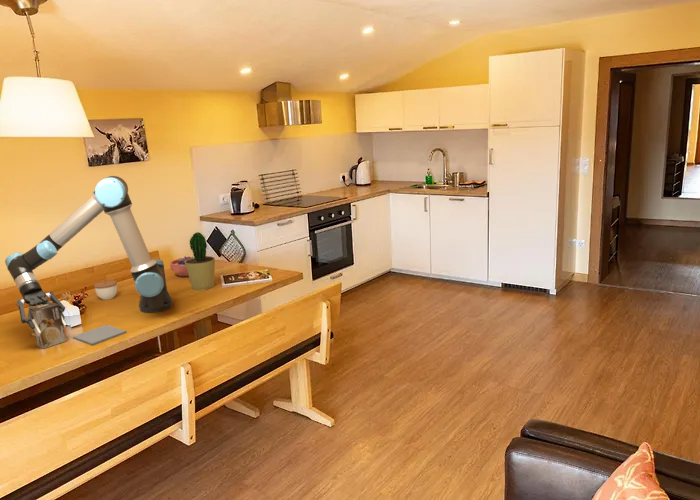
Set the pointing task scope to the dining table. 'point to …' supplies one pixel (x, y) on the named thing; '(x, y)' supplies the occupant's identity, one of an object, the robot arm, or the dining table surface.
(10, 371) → the dining table surface
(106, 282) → the lidded jar
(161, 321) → the dining table surface
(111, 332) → the mat
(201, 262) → the potted cactus
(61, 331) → the coffee box
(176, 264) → the cell model
